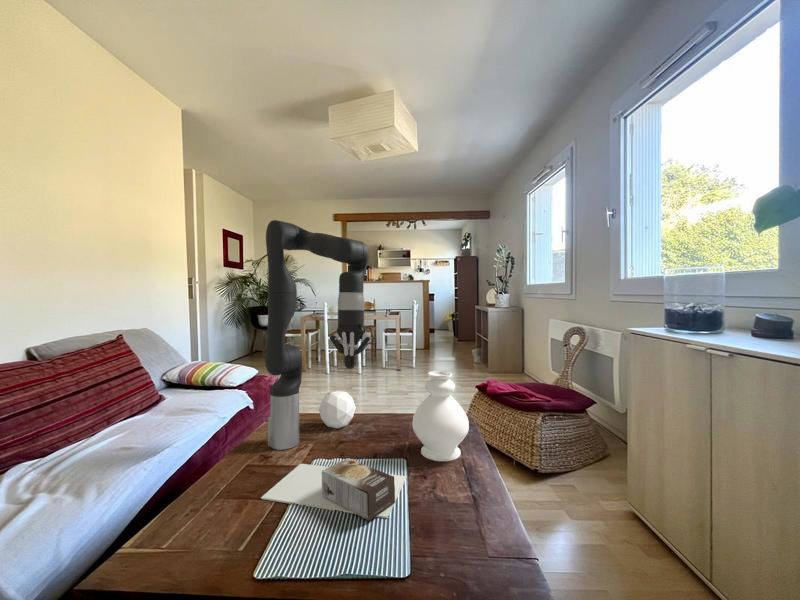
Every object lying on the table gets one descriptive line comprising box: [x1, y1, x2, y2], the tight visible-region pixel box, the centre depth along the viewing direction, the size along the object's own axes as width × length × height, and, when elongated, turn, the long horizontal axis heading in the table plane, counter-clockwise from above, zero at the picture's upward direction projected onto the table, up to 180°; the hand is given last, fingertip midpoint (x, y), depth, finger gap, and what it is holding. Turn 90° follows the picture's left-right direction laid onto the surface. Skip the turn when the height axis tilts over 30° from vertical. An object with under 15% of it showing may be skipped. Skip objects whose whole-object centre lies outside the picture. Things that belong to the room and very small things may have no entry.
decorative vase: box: [411, 370, 470, 462], centre depth 107 cm, size 18×18×25 cm
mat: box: [260, 463, 407, 519], centre depth 86 cm, size 32×18×1 cm, turn 76°
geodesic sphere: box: [318, 389, 357, 429], centre depth 131 cm, size 15×14×14 cm
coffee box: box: [322, 457, 396, 522], centre depth 80 cm, size 9×6×16 cm
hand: (350, 368), depth 97 cm, fingers closed
